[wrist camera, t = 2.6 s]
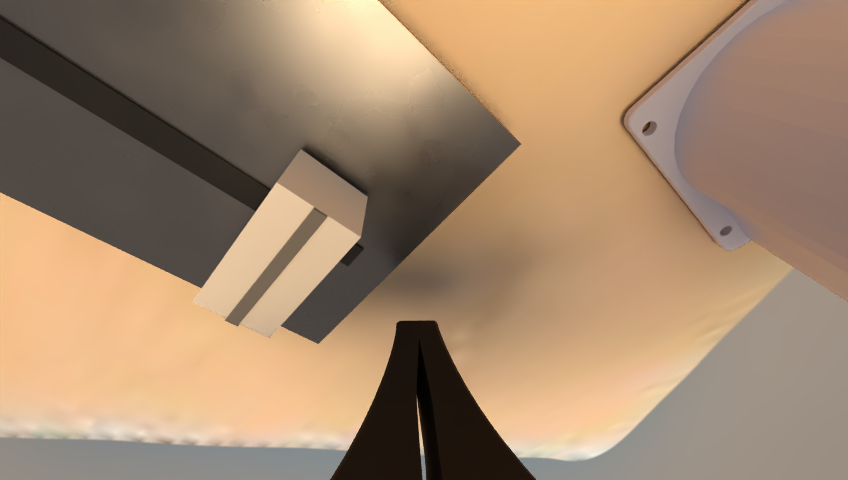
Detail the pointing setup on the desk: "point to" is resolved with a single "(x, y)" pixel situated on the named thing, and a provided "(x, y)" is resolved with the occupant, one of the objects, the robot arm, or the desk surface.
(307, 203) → the fader knob
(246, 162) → the fader console
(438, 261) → the desk surface
